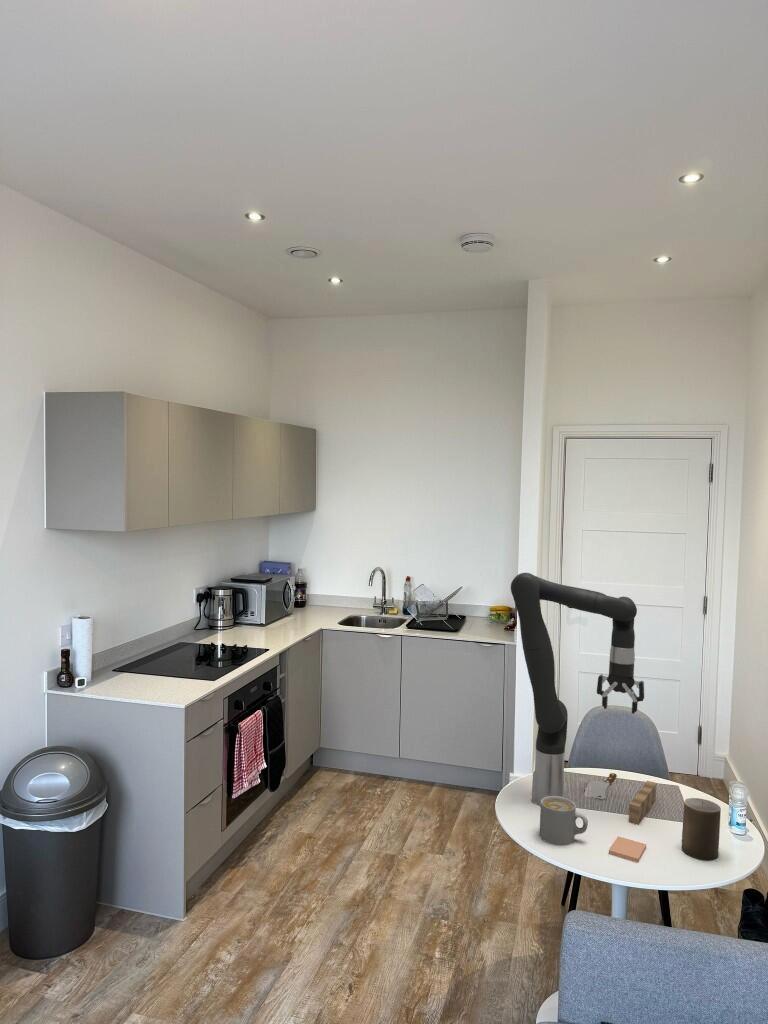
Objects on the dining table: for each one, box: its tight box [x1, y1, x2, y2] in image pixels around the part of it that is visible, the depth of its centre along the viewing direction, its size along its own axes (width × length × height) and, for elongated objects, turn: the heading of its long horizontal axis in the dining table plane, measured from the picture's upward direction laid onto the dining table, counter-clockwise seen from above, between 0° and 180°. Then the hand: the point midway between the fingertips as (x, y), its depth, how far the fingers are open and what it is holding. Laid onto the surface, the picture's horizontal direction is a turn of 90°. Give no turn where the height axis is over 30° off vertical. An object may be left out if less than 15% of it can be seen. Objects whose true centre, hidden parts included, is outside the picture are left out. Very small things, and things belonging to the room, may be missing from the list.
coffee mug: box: [538, 796, 588, 846], centre depth 209 cm, size 13×10×10 cm
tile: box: [608, 836, 647, 864], centre depth 204 cm, size 8×2×10 cm
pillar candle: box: [681, 797, 722, 861], centre depth 204 cm, size 10×10×15 cm
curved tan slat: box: [628, 780, 658, 826], centre depth 229 cm, size 22×3×6 cm, turn 146°
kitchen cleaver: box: [588, 772, 618, 801], centre depth 248 cm, size 24×1×10 cm
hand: (619, 710), depth 228 cm, fingers open, 8 cm apart
